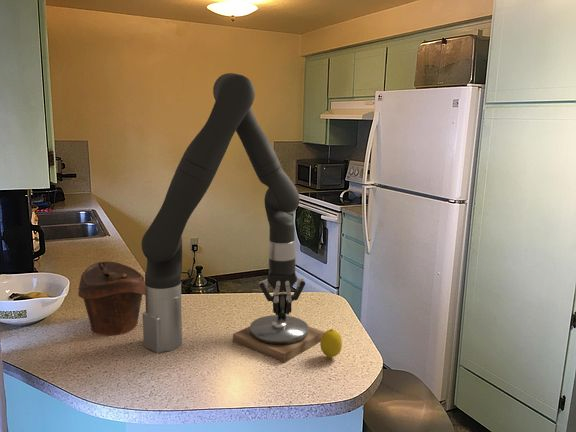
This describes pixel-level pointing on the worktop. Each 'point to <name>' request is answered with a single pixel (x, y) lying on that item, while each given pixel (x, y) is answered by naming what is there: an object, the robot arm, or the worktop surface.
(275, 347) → the wheel stand
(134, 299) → the chocolate muffin
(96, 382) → the worktop surface
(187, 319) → the worktop surface
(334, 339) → the lemon
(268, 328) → the handwheel
